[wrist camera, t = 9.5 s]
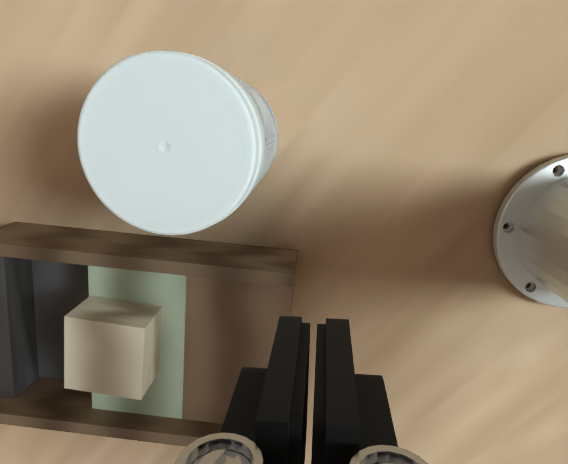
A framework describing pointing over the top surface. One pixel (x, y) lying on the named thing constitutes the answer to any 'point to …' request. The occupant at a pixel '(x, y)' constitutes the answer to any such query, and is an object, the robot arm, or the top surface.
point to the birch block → (112, 346)
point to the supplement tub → (174, 141)
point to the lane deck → (144, 289)
